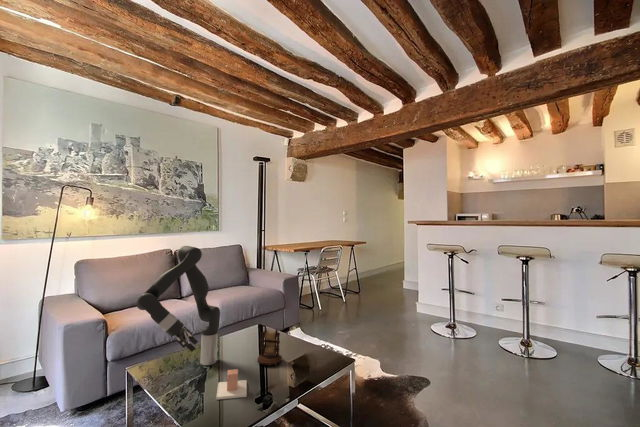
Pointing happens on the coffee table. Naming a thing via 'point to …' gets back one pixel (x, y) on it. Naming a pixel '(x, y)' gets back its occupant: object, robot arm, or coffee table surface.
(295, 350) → the coffee table surface
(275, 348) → the brown piece
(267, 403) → the black chunky block
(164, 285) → the robot arm
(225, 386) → the pad
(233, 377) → the terracotta block
